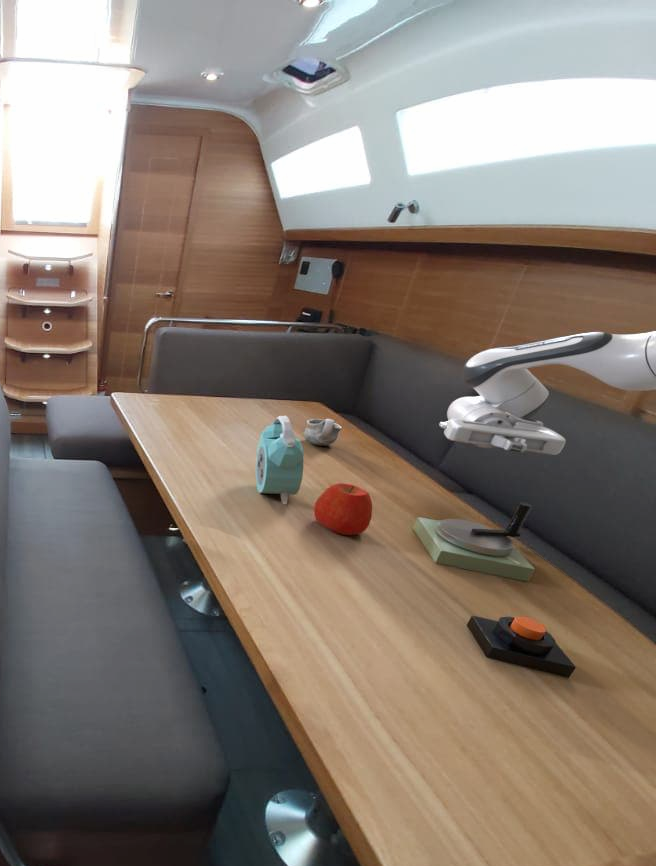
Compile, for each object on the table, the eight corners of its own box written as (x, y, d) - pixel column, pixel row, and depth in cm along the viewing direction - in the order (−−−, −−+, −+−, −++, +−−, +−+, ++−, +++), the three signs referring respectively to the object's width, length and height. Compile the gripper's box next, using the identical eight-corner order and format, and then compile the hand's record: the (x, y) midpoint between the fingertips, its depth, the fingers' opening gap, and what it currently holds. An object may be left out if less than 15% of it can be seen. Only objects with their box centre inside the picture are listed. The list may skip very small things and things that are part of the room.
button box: (540, 642, 81) (553, 623, 79) (568, 678, 74) (583, 658, 72) (466, 625, 84) (476, 606, 82) (486, 657, 77) (498, 638, 75)
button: (533, 628, 78) (539, 620, 78) (545, 643, 75) (551, 635, 75) (505, 622, 80) (510, 613, 79) (516, 637, 76) (521, 628, 76)
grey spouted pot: (329, 440, 165) (339, 411, 160) (342, 454, 153) (353, 423, 149) (297, 437, 166) (306, 408, 162) (308, 450, 155) (318, 420, 151)
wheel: (507, 534, 106) (527, 498, 102) (536, 564, 96) (559, 525, 92) (428, 520, 110) (444, 485, 106) (448, 547, 100) (466, 509, 96)
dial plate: (493, 543, 109) (500, 531, 107) (527, 581, 96) (535, 568, 95) (412, 528, 113) (417, 516, 112) (435, 562, 101) (441, 550, 99)
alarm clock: (298, 511, 119) (324, 432, 110) (256, 504, 121) (277, 427, 112) (283, 481, 134) (304, 410, 125) (245, 476, 136) (264, 405, 127)
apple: (304, 527, 112) (318, 485, 107) (316, 510, 119) (330, 470, 115) (359, 546, 105) (377, 502, 101) (368, 527, 113) (385, 485, 108)
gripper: (441, 409, 119) (464, 426, 108) (549, 422, 113) (586, 442, 101) (431, 433, 122) (452, 453, 111) (536, 447, 116) (569, 470, 104)
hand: (517, 448), depth 106 cm, fingers closed
